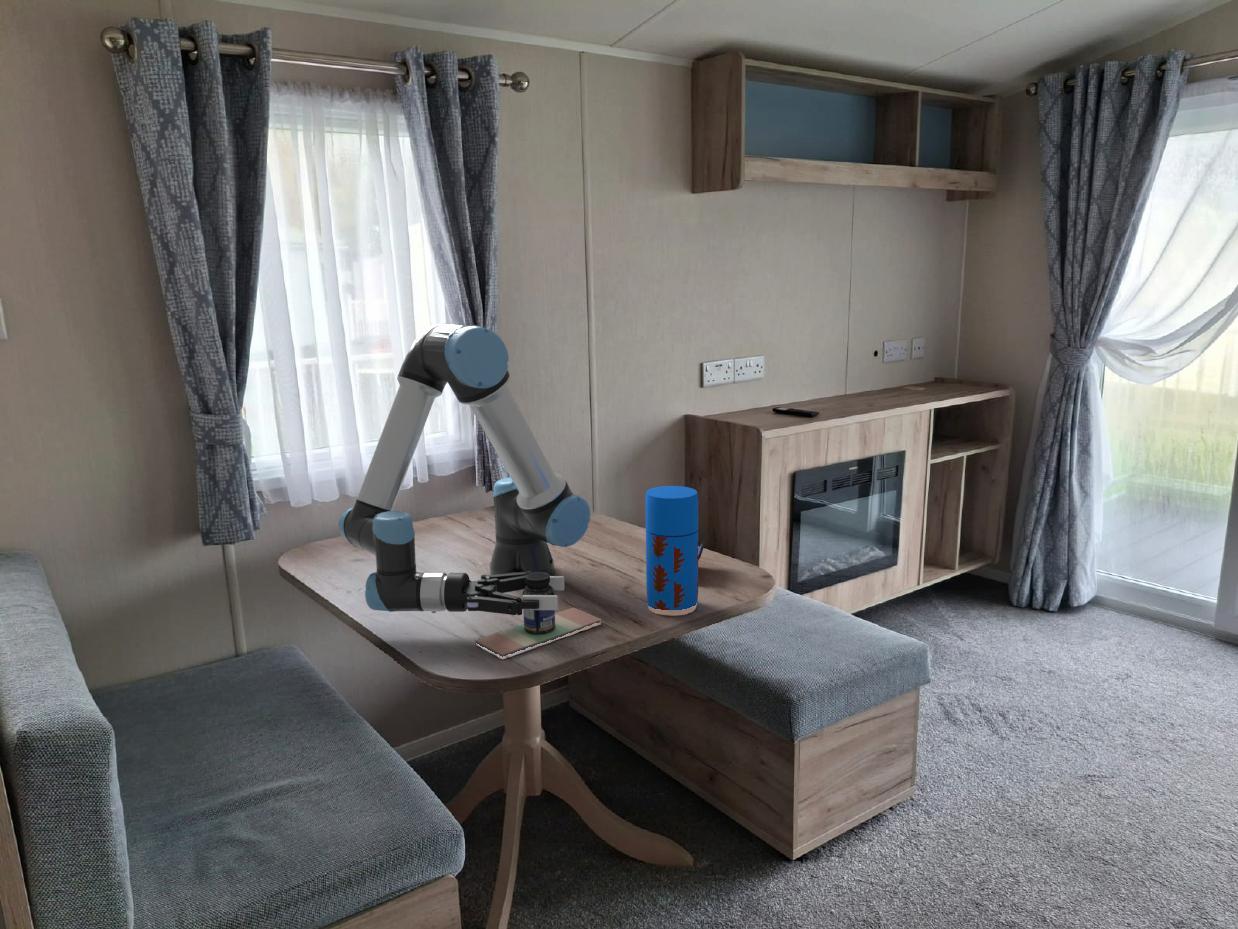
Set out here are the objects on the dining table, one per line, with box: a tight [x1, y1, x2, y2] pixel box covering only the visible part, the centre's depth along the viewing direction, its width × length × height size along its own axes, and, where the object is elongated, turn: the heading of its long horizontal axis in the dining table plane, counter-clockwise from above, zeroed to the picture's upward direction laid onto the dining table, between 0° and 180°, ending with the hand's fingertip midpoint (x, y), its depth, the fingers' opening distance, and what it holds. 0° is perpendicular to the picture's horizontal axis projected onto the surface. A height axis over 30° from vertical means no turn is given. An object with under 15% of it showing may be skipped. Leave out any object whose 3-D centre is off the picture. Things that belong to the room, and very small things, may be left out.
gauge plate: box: [474, 606, 602, 657], centre depth 176 cm, size 9×24×1 cm, turn 132°
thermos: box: [645, 485, 699, 610], centre depth 187 cm, size 11×11×25 cm
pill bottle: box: [522, 572, 556, 634], centre depth 175 cm, size 6×6×11 cm
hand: (560, 592), depth 174 cm, fingers open, 10 cm apart
